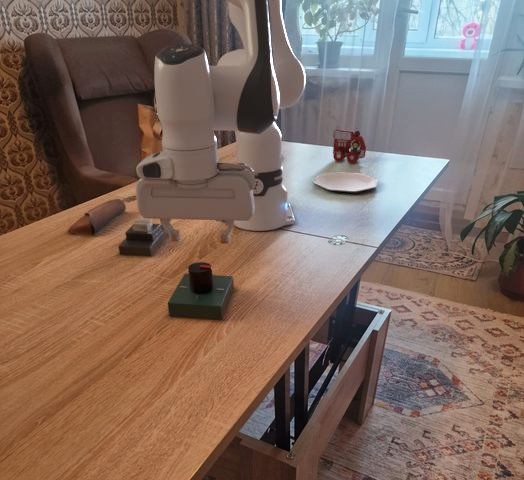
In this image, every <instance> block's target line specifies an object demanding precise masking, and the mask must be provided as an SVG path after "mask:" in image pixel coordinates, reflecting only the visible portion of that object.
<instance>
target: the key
mask: <svg viewBox="0 0 524 480" xmlns="http://www.w3.org/2000/svg"><path fill="white" fill-rule="evenodd" d="M153 224H154V223H153V219H146V218H139V217H138V218H136V219H135V220H134V221H133V222H132V225H133V231H141V232H149V231H150V230H151V229H152V228H153ZM132 225H131V226H132Z"/></svg>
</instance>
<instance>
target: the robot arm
mask: <svg viewBox="0 0 524 480" xmlns="http://www.w3.org/2000/svg"><path fill="white" fill-rule="evenodd" d="M225 1H227V8H228V17H229V20H230V22H231V24H232V25H233V27H234V28H235V29H236V31H237V33H238V35H239V37H240V39H241V40H240V41H241V42H242V46H243V48H237V49H234V50H232V51H229V52H226V53H224V54H223V55H222V56H221V57H220V58H219V60H218V62H217V64H216V65H211V64H209V61H208V57H207V53H206V50H205V49H204V48H203V47H201V46H199V45H195V44H192V43H191V44H190V43H183V44H174V45H170V46H166V47H163V48H162V49H160V51H158V52H157V53H156V54H155V57H154V66H153V67H154V69H153V71H154V72H153V73H154V74H153V75H154V77H153V78H154V79H153V80H154V94H155V104H156V111H157V117H158V120H159V123H160V125H161V130H162V136H161V137H162V138H161V147H162V150H160V151H158V152H154V153H152V154H149V155H147V156H146V157H145V158H143V159H142V160H141V161H140V162H139V163H138V164H137V165H136V168H135V171H136V175H137V177H138V178H139V179H138V181H137V183H136V186H135V197H136V198H135V199H136V206H137V211H138V214H139V215H140V216H141V217H142V219H152V220H153V219H155V220H159V221H160V225H162V226H163V228H164V229H165V230H166V232H167V233H168V240H169V242H170V243H178V242H179V241H180V240H181V239H180V238H181V236H180V230H179V229H175V228H174V226H173V225H172V224H171V221H172V220H191V221H193V220H194V221H195V220H196V221H225V226H227V229H226V230H221V231H220V232H221V233H220V235H219V237H220V244H230V243H231V232H232V230H233V228H234V226H235V227H237V228H239V229H241V230H246V231H253V232H266V231H273V230H277V229H280V228H283V227H285V226H291V225H294V224H295V223H296V220H295V216H294V213H293V209H292V207H291V204H290V202H289V201H288V191H287V189H286V187H285V186H284V184H283V180H284V178H283V177H284V170H283V166H282V157H283V154H282V139H283V137H282V133H281V130H280V129H279V126H277V124H276V121H277V119H278V117H279V111H280V110H281V109H288V108H292V107H294V106H295V105H296V104H298V103H299V101H300V100H301V98H302V97H303V94H304V92H305V88H306V73H305V69H304V67H303V65H302V63H301V62H300V60H299V59H298V58H297V57H296V56H295V54H294V52H293V50H292V48H291V45H290V42H289V41H290V40H289V39H288V35H287V31H286V28H285V23H284V18H283V11H282V0H225ZM215 131H223V132H225V131H229V132H234V134H235V146H236V147H235V150H236V163H232V162H220V161H219V151H218V150H219V149H218V140H217V136H216V133H215Z"/></svg>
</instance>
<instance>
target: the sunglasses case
mask: <svg viewBox="0 0 524 480" xmlns="http://www.w3.org/2000/svg"><path fill="white" fill-rule="evenodd" d="M126 210H127V206H126V204H125V202H124V201H123V200H122V199H120V198H115V199H111V200H106V201H104V202H102V203H100V204H98V205H96V206H95V207H93V208H91V209H89V210H88V211H86V212H85V213H84V215H83V216H82V217H80V218H79V219H77V220H76V221H74V223H73V224H71V225H70V226H69V228H67V233H69V234H72V235H77V236H85V237H93V236H95V234H97V233H98V232H99V231H100V230H102V228H103V227H104V226H105V225H107V223H109V222H110V221H112V220H113V219H114V218H115V217H117V216H119V214H121V213H123V212H125V211H126Z"/></svg>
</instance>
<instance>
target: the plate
mask: <svg viewBox="0 0 524 480" xmlns="http://www.w3.org/2000/svg"><path fill="white" fill-rule="evenodd" d="M378 182H379V179H377V178H375V177H372V176H370V175H368V174H364V173H361V172H349V171H333V172H328V173H322V174H321V173H320V174H318V175H316V177H315V179H314V180H313V185H315V186H318V187H320V188H322V189H324V190H326V191H329V192H340V193H341V192H342V193H352V194H353V193H360V192H365V191H370V190H375V189H376V188H377V186H378Z"/></svg>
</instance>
